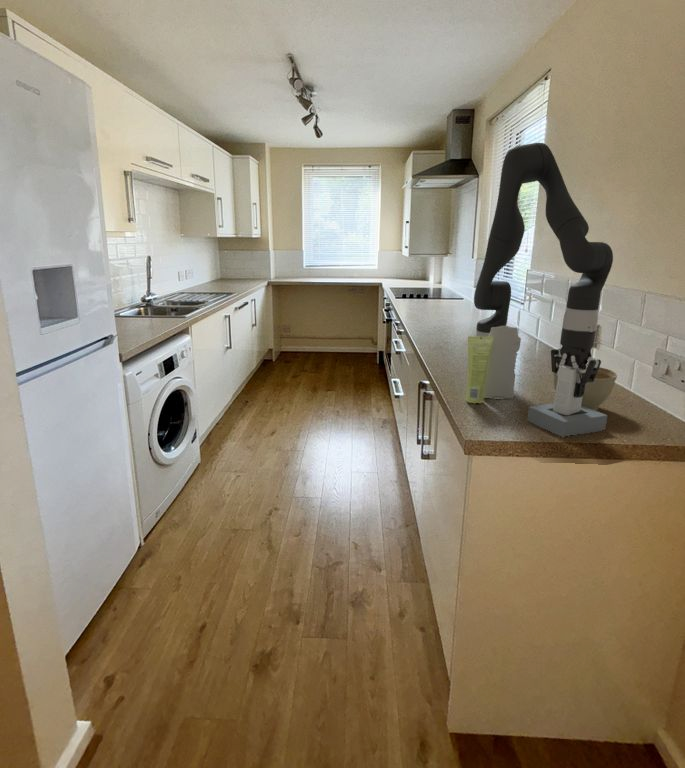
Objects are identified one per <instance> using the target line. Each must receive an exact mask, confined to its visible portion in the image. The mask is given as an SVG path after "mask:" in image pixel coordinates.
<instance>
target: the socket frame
mask: <svg viewBox="0 0 685 768" xmlns="http://www.w3.org/2000/svg"><path fill="white" fill-rule="evenodd" d="M553 406H554V402H553V403H552V402H551V403H546V404H541V405H540V404H538V405H531V406H528V412H527V413H528V414H527V422H528V421H529V422H528V423H530V422H531V423H530V424H532V423H533V424H532V425H535V426H536V427H538V428H541V429H543V430H545V429H546V431H547V430H548V431H547V432H549V431H550V433H551V432H552V433H551V434H553V433H555V434H554V435H556V434H557V435H556V436H558V435H559V436H558V437H560V436H561V437H560V438H566V437H565V436H568V437H571V436H570V435H574V436H578V435H577V434H580V435H585V433H586V434H591V432H592V433H597V432H603V431H606V427H607V426H606V425H607V421H608V420H607V419H608V414H605V413H603V412H600V411H599V410H597V411H595V410H592V409H590V408H587V407H584V406H582V405H581V409H580V411H579V412H576V413H573V414H570V415H563V414H559V413H556V412H554V411H553ZM602 430H603V431H602Z"/></svg>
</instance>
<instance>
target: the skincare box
mask: <svg viewBox="0 0 685 768" xmlns="http://www.w3.org/2000/svg"><path fill="white" fill-rule="evenodd" d="M579 370H583V368H579ZM576 376H577V374H576V369H573V367H571V366H566V365H565V366H561V367H559V373H558V379H557V386H556V390H555V393H554V400H553V403H554V406H553V411H554V412H556V413H559V414H563V415H570V414H573V413H576V412H579V411H580V409H581V403H582V397H583V396H582V397H579V398H576V397H574V390H575V384H576V383H577V382H576ZM581 378H582V374H581Z"/></svg>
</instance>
